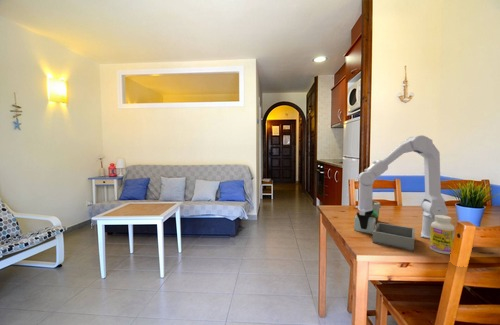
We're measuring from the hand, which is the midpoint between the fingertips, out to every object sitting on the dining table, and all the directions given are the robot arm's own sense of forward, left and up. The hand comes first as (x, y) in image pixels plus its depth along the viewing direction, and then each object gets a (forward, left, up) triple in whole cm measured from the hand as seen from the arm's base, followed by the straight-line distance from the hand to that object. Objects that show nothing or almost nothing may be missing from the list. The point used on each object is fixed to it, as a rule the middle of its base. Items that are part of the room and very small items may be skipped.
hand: (364, 227), depth 107 cm
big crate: (-12, +6, -2) cm, 14 cm away
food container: (-1, -19, -2) cm, 19 cm away
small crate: (0, 0, -2) cm, 2 cm away
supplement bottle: (-27, +7, -2) cm, 28 cm away
